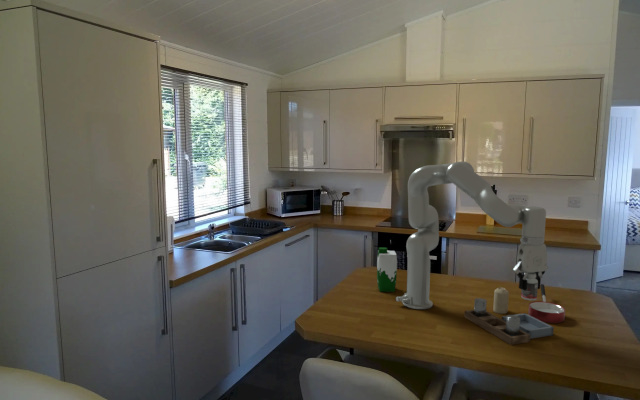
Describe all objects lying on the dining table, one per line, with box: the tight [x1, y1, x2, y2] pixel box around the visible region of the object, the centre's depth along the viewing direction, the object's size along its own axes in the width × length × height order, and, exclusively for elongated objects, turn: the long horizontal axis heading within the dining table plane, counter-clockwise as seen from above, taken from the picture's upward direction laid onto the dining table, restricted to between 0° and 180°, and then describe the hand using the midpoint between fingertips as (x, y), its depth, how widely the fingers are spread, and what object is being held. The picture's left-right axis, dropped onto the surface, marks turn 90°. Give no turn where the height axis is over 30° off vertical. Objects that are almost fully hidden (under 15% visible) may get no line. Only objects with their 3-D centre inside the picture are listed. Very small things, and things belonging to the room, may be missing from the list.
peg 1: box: [473, 297, 487, 317], centre depth 177 cm, size 4×4×8 cm
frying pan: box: [527, 283, 566, 324], centre depth 189 cm, size 32×13×6 cm, turn 163°
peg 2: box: [506, 314, 520, 337], centre depth 160 cm, size 4×4×8 cm
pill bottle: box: [520, 272, 539, 302], centre depth 167 cm, size 5×5×10 cm
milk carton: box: [376, 246, 398, 293], centre depth 212 cm, size 9×9×20 cm
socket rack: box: [464, 309, 531, 346], centre depth 169 cm, size 8×26×2 cm, turn 18°
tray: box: [501, 312, 555, 340], centre depth 169 cm, size 11×14×3 cm
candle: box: [492, 286, 510, 315], centre depth 186 cm, size 6×6×10 cm
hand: (529, 288), depth 167 cm, fingers closed on pill bottle, 5 cm apart
